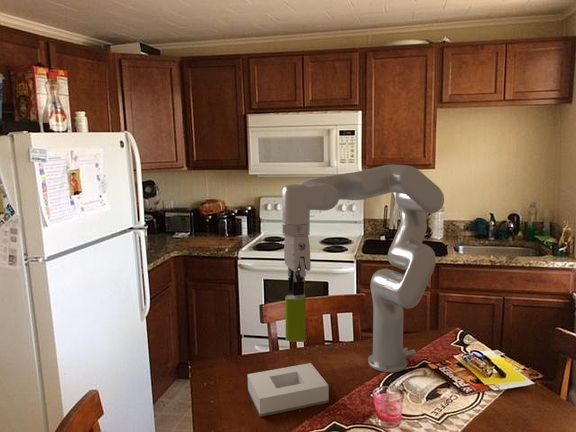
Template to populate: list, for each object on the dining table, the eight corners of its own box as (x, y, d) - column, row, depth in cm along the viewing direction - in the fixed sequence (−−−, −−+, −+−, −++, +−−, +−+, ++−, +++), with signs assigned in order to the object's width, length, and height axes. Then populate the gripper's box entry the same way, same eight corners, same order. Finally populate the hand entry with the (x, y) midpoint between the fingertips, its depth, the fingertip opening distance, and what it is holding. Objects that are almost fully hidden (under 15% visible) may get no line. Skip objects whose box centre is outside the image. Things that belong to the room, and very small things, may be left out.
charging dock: (311, 378, 149) (310, 363, 148) (328, 402, 136) (328, 385, 135) (248, 390, 143) (247, 374, 142) (260, 416, 130) (259, 398, 129)
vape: (305, 342, 137) (305, 274, 134) (284, 340, 138) (284, 273, 135) (306, 336, 141) (307, 270, 137) (286, 335, 142) (286, 269, 138)
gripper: (319, 234, 127) (319, 300, 130) (299, 223, 142) (299, 283, 145) (292, 235, 125) (292, 303, 128) (274, 224, 140) (275, 285, 143)
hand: (296, 292), depth 136 cm, fingers closed on vape, 3 cm apart
